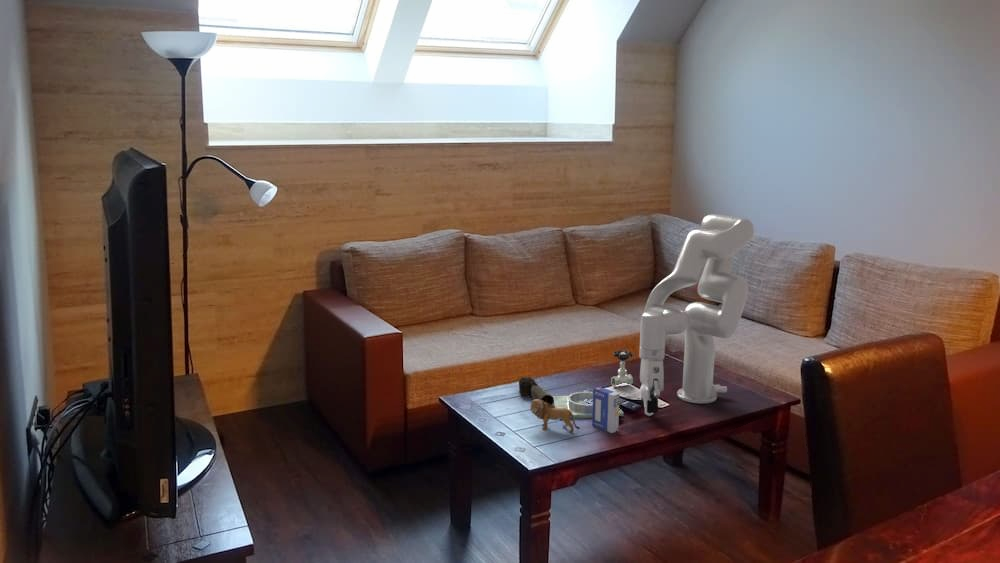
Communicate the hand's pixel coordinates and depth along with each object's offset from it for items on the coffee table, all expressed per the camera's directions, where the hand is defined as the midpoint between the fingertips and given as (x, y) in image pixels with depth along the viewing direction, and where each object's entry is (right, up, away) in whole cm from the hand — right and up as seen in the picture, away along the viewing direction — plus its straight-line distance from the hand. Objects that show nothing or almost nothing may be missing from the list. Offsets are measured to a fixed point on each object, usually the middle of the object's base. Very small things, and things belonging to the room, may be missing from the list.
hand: (649, 408), depth 246 cm
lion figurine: (-30, -5, -9) cm, 32 cm away
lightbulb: (0, -3, +1) cm, 3 cm away
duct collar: (-19, -1, +7) cm, 20 cm away
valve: (-5, +3, +26) cm, 26 cm away
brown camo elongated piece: (-35, +1, +15) cm, 38 cm away
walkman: (-15, -5, -8) cm, 18 cm away
